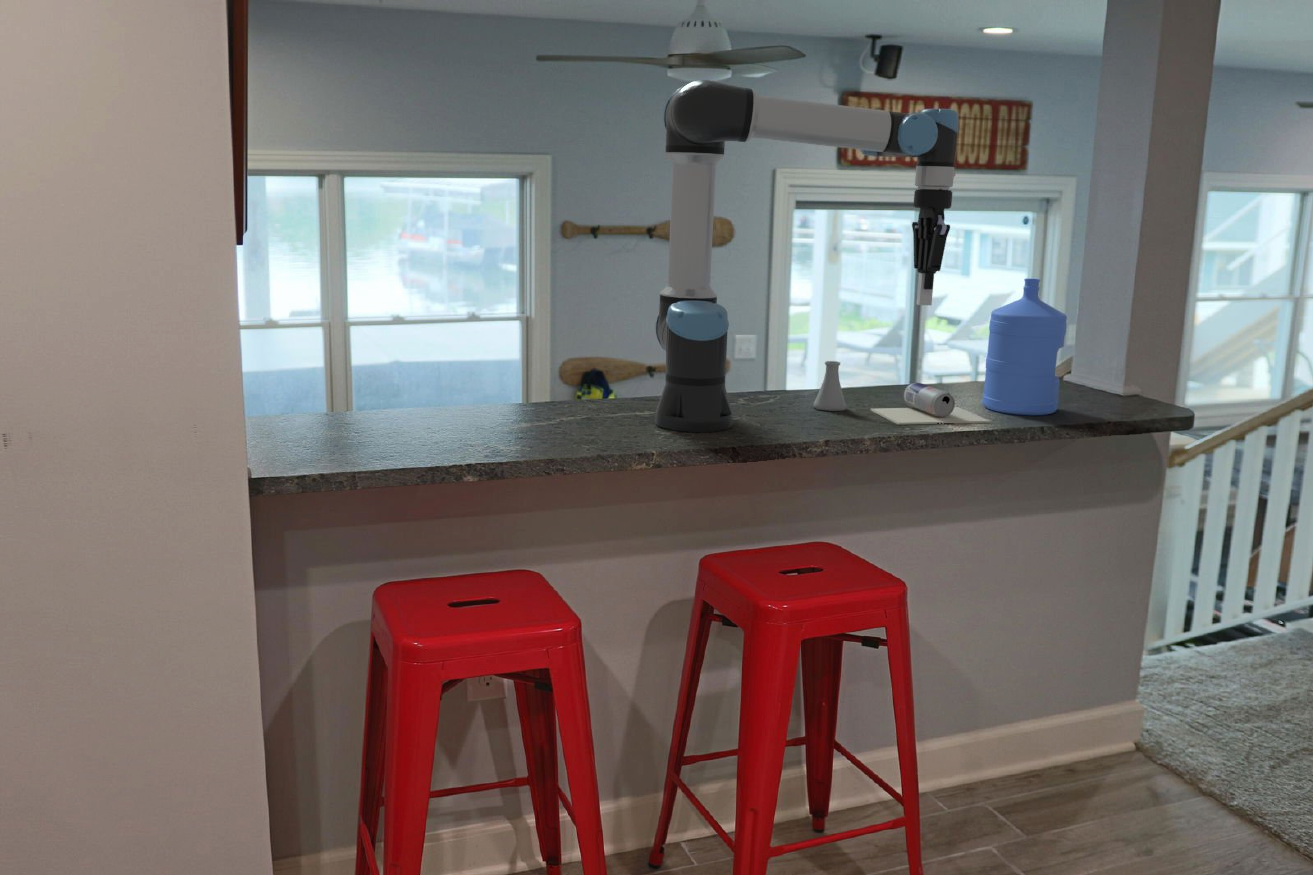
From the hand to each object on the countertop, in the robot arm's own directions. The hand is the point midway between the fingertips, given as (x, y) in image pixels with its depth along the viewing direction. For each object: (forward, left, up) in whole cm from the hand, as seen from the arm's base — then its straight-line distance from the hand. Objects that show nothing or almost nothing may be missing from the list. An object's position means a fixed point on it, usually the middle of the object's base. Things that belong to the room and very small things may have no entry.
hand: (923, 304), depth 229 cm
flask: (-17, +4, -23) cm, 29 cm away
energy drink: (+1, +3, -20) cm, 20 cm away
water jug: (+25, 0, -23) cm, 33 cm away
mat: (+1, -6, -23) cm, 23 cm away
